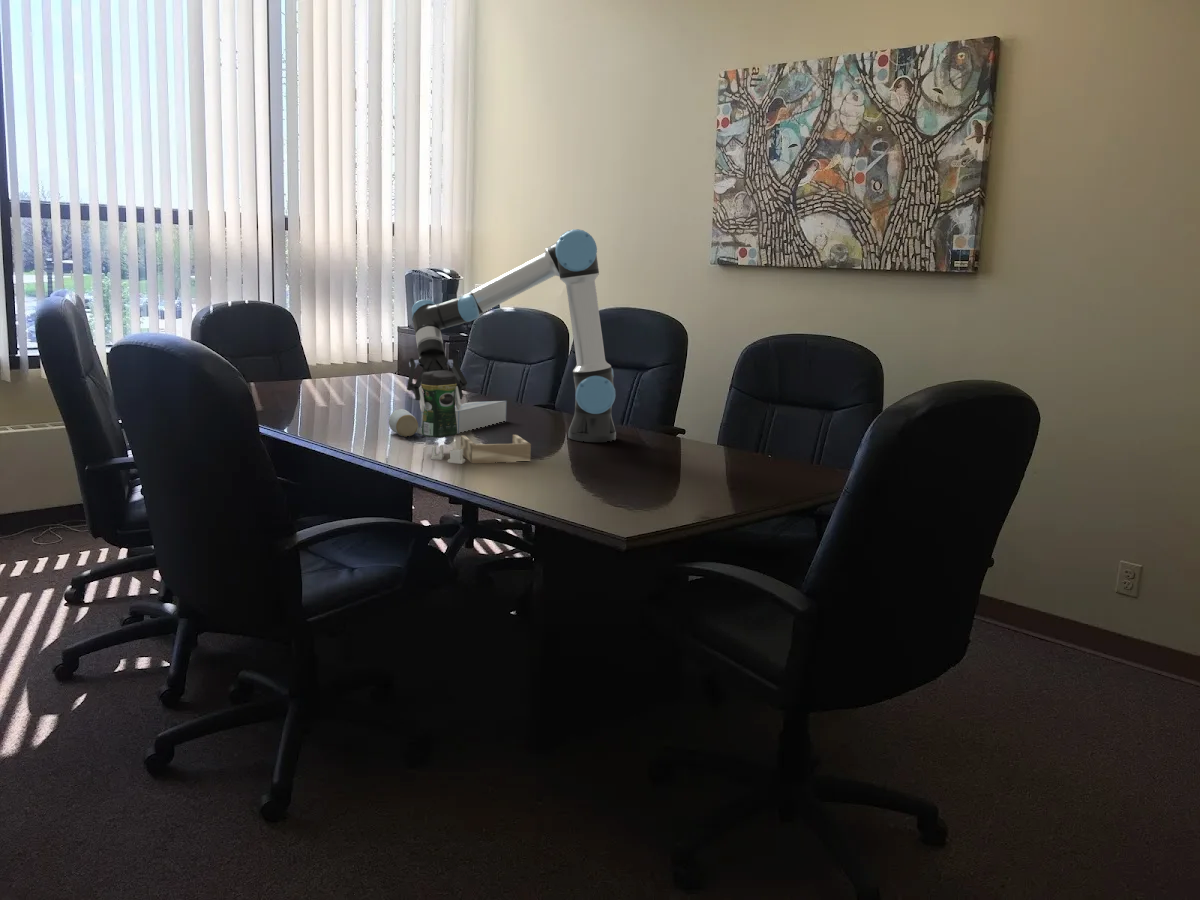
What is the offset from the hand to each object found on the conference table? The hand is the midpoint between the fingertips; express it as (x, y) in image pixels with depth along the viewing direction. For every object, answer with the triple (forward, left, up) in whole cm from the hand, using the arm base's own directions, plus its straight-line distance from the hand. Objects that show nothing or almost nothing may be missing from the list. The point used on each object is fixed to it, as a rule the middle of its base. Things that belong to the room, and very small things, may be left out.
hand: (441, 408), depth 269 cm
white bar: (-18, -48, -14) cm, 53 cm away
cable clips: (0, +8, -13) cm, 15 cm away
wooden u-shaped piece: (-14, +5, -13) cm, 20 cm away
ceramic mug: (+4, -31, -13) cm, 34 cm away
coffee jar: (0, -3, -9) cm, 9 cm away
